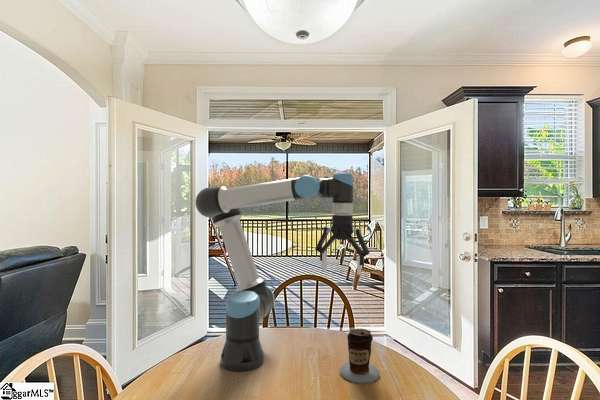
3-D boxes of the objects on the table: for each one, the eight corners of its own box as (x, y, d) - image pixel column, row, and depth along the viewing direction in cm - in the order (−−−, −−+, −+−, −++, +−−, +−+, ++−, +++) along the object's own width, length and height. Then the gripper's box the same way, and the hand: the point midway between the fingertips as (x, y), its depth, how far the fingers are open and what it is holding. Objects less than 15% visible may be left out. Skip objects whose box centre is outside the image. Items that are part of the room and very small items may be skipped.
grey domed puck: (334, 378, 113) (334, 375, 113) (346, 361, 125) (346, 358, 125) (374, 387, 107) (374, 384, 107) (382, 368, 119) (383, 366, 119)
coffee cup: (372, 378, 111) (372, 337, 111) (346, 375, 113) (346, 335, 112) (372, 365, 119) (372, 328, 119) (347, 363, 121) (348, 326, 121)
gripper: (307, 213, 131) (306, 270, 131) (373, 216, 120) (372, 278, 120) (315, 213, 138) (314, 266, 138) (378, 215, 127) (377, 273, 127)
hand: (341, 272), depth 129 cm, fingers open, 13 cm apart
